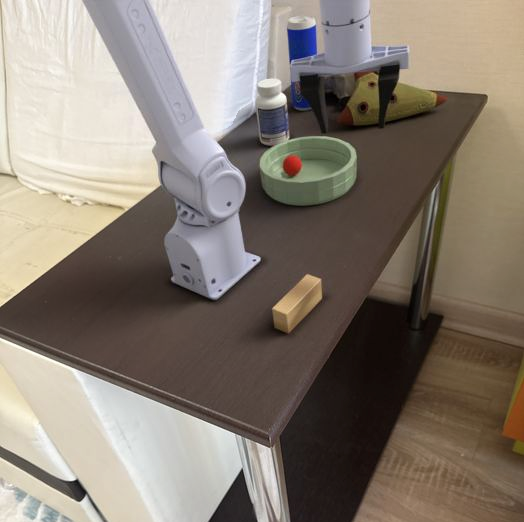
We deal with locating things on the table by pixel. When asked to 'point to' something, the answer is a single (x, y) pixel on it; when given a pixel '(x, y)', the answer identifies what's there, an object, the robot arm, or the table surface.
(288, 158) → the ball
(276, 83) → the pill bottle
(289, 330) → the block
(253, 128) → the table surface
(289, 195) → the bowl
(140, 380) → the table surface
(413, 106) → the ocarina
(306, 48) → the blue canister
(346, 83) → the figurine
